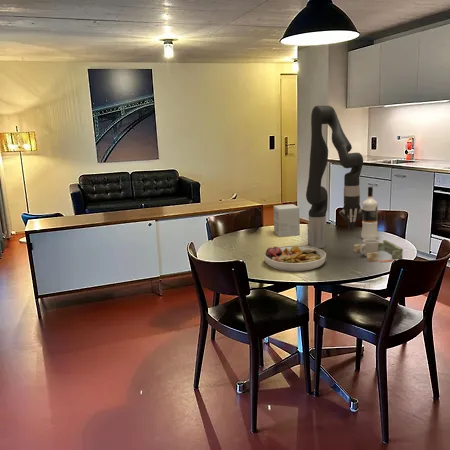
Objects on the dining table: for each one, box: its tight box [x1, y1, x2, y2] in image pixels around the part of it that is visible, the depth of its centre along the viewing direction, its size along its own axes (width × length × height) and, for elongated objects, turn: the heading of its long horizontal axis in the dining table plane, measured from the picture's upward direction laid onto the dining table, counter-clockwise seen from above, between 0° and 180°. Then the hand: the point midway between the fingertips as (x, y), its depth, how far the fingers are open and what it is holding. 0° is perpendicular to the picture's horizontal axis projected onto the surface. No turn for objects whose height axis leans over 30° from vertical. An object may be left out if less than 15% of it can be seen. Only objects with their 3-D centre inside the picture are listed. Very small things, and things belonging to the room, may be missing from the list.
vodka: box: [360, 186, 379, 240], centre depth 249 cm, size 9×9×30 cm
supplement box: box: [273, 203, 301, 238], centre depth 271 cm, size 13×13×18 cm
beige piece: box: [353, 239, 403, 263], centre depth 220 cm, size 18×17×5 cm
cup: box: [360, 238, 380, 257], centre depth 220 cm, size 11×8×8 cm
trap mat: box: [379, 258, 394, 263], centre depth 211 cm, size 7×2×1 cm, turn 97°
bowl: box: [263, 245, 327, 272], centre depth 216 cm, size 30×30×8 cm
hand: (351, 229), depth 216 cm, fingers closed
